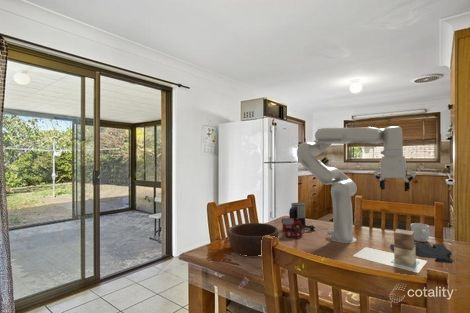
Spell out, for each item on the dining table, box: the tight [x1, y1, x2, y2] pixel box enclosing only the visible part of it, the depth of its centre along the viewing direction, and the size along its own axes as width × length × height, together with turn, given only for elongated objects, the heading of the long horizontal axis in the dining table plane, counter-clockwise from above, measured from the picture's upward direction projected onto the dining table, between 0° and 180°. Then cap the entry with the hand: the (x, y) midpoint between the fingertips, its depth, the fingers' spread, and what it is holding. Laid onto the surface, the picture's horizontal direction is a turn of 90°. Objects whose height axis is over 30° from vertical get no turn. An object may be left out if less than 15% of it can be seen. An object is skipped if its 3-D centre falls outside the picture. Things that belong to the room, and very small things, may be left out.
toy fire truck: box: [281, 217, 305, 239], centre depth 145 cm, size 7×12×10 cm, turn 86°
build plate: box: [352, 246, 428, 274], centre depth 108 cm, size 24×15×1 cm, turn 43°
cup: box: [410, 222, 430, 243], centre depth 131 cm, size 11×8×8 cm
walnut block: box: [393, 228, 415, 250], centre depth 104 cm, size 6×6×6 cm
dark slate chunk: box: [389, 242, 455, 264], centre depth 114 cm, size 15×22×5 cm
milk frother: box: [288, 202, 316, 230], centre depth 161 cm, size 14×16×15 cm
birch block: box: [393, 247, 417, 266], centre depth 104 cm, size 6×6×6 cm
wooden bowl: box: [227, 222, 279, 256], centre depth 126 cm, size 25×25×10 cm
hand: (394, 190), depth 119 cm, fingers open, 9 cm apart
